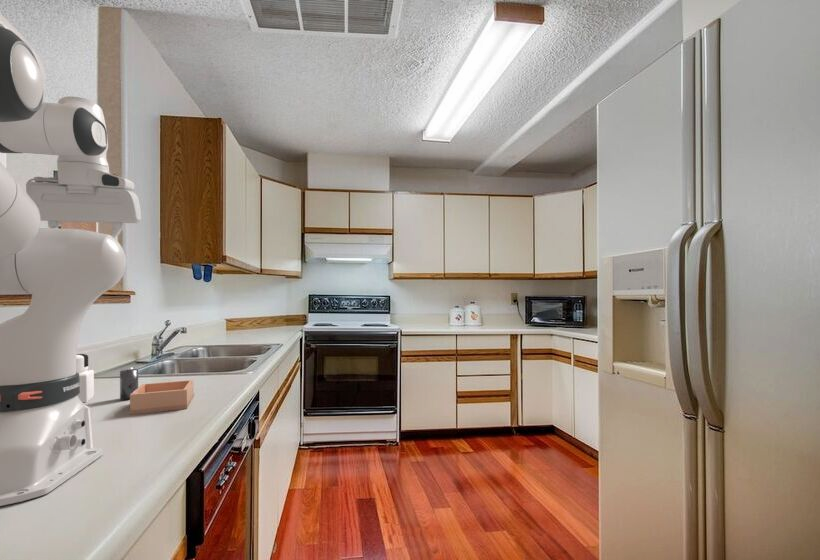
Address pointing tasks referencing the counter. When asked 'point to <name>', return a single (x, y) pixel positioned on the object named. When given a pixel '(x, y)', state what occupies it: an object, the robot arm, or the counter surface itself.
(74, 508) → the counter surface
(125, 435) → the counter surface
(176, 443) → the counter surface
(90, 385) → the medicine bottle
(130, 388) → the battery cell
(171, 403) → the tray
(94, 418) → the counter surface
